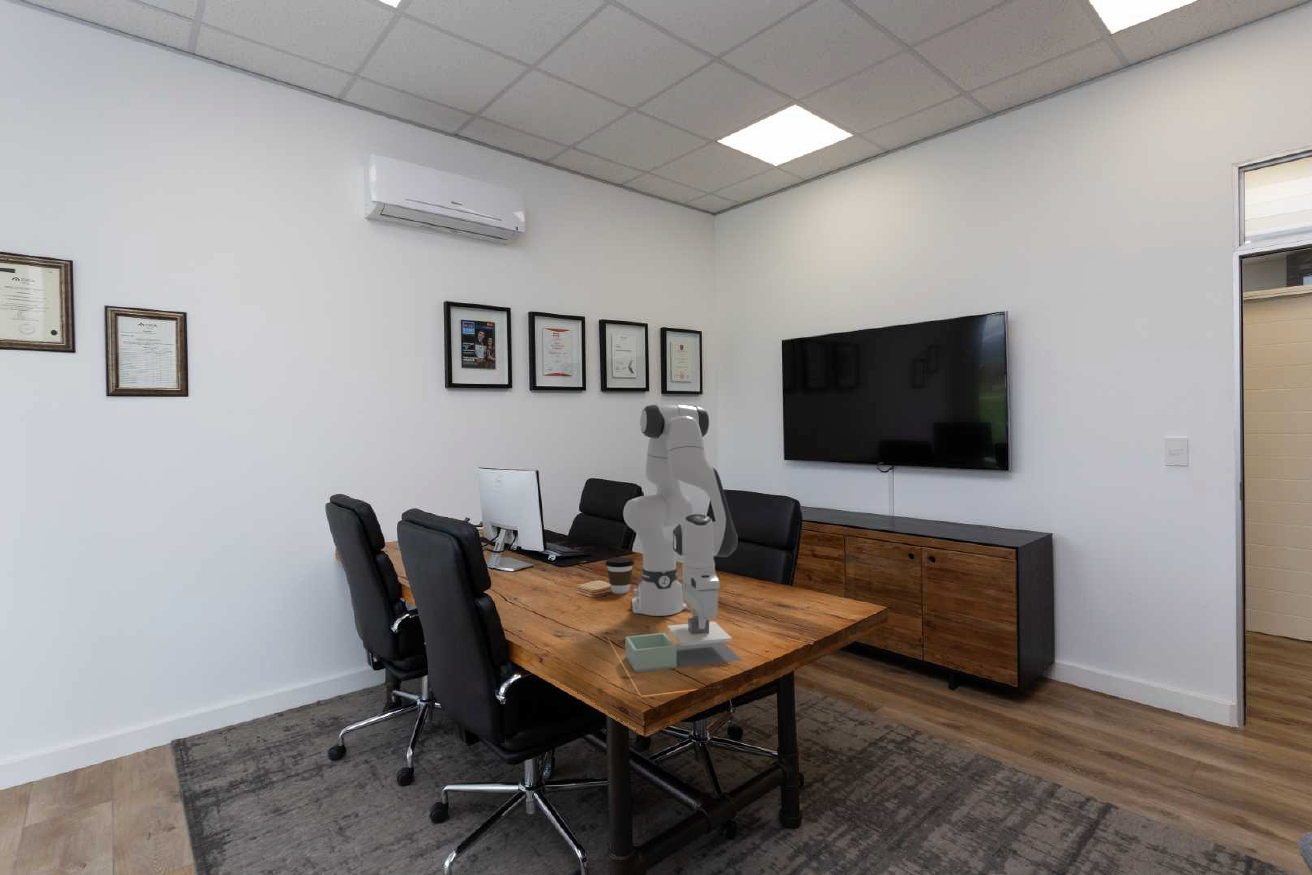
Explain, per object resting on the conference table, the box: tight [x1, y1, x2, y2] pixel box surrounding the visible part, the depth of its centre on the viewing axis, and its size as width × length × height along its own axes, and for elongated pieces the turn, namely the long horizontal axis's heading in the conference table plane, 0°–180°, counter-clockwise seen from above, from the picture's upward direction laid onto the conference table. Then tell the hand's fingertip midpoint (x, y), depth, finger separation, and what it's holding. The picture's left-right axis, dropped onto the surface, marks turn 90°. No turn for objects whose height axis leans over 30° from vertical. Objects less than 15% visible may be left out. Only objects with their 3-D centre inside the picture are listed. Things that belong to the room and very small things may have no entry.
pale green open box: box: [624, 632, 678, 674], centre depth 170 cm, size 11×11×6 cm
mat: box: [674, 642, 743, 668], centre depth 177 cm, size 17×17×1 cm
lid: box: [666, 617, 733, 646], centre depth 177 cm, size 14×14×4 cm
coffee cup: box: [604, 556, 635, 595], centre depth 243 cm, size 11×11×12 cm
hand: (698, 625), depth 177 cm, fingers closed on lid, 3 cm apart
